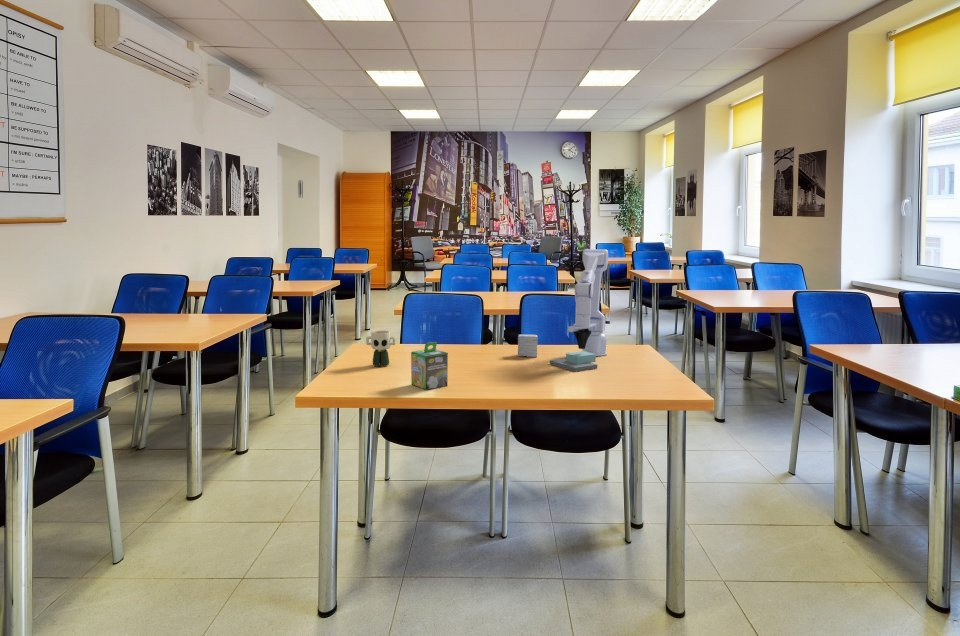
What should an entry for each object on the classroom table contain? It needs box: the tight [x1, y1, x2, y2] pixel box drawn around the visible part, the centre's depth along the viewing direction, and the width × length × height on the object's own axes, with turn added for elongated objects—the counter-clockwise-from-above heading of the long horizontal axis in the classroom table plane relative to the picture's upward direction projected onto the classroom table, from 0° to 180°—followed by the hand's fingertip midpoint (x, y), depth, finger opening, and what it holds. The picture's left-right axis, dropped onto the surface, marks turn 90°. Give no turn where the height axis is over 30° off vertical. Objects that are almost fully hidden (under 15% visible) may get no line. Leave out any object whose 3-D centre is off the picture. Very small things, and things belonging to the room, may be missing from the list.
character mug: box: [365, 330, 396, 367], centre depth 241 cm, size 11×7×13 cm, turn 94°
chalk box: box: [410, 341, 449, 391], centre depth 212 cm, size 9×9×15 cm
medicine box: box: [517, 334, 538, 358], centre depth 263 cm, size 8×4×9 cm, turn 84°
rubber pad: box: [549, 357, 598, 373], centre depth 246 cm, size 11×15×2 cm
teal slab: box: [565, 350, 597, 364], centre depth 247 cm, size 3×7×9 cm
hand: (581, 348), depth 247 cm, fingers closed
